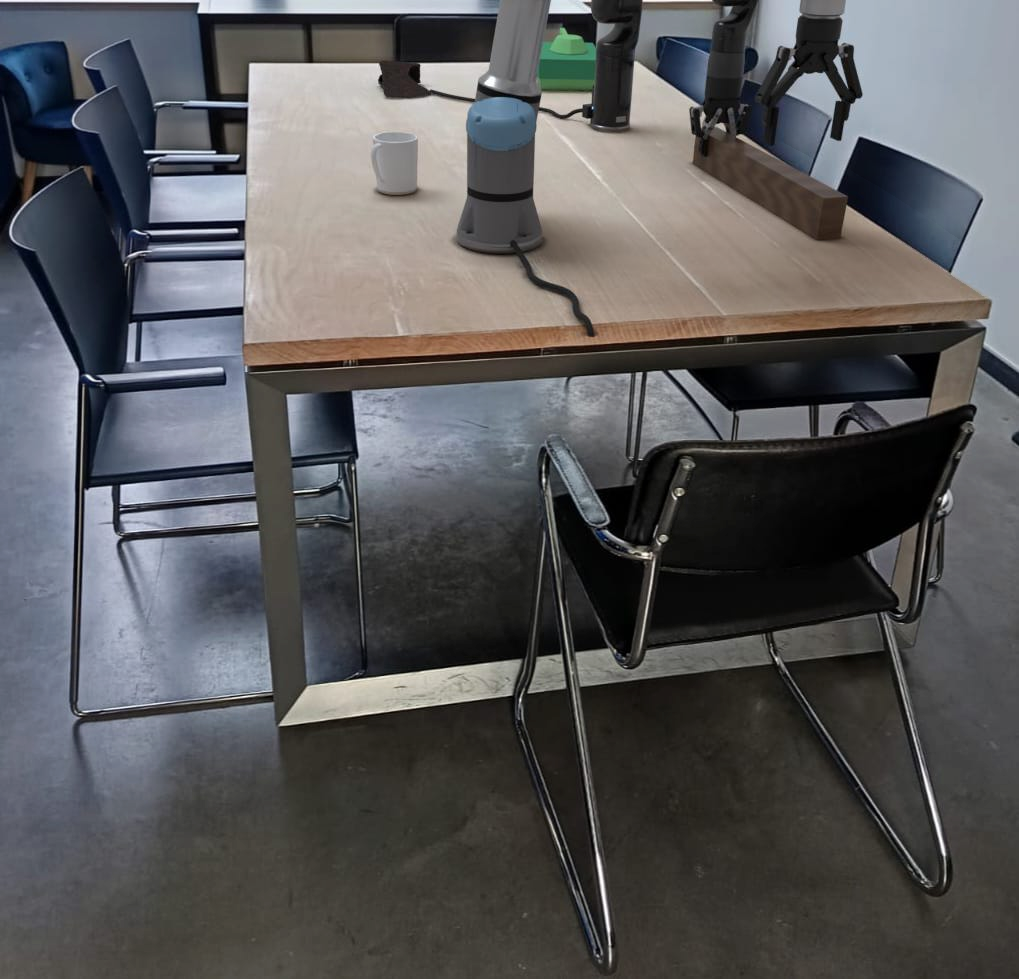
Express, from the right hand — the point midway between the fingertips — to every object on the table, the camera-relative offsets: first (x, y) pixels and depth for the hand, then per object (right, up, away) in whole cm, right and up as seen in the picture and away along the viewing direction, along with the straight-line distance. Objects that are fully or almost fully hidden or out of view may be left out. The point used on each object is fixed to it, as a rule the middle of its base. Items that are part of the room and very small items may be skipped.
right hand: (715, 155), depth 237 cm
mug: (-68, -12, -17) cm, 71 cm away
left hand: (+9, -9, -38) cm, 40 cm away
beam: (+6, -13, -15) cm, 21 cm away
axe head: (-74, +37, +63) cm, 104 cm away
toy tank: (-29, +47, +81) cm, 97 cm away
